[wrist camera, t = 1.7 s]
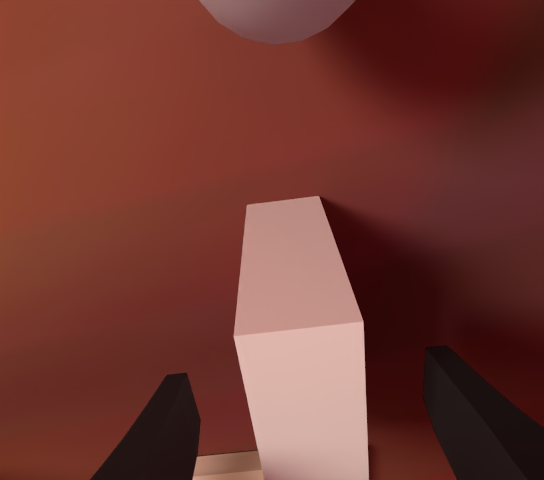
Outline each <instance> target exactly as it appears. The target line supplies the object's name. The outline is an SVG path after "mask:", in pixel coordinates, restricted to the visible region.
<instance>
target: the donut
mask: <svg viewBox="0 0 544 480" xmlns="http://www.w3.org/2000/svg"><path fill="white" fill-rule="evenodd" d="M199 1H200V2H201V3H202V4H203V5H204V7H205V8H206V9H207V10H208V11H209V12H210V14H211V15H212V16H213V17H214V18H215V19H216V21H217V22H218V23H220V24H221V25H223V26H225V27H226V28H228V29H230V30H231V31H233V32H234V33H236V34H238V35H239V36H241V37H242V38H244V39H248V40H253V41H257V42H262V43H266V44H271V45H276V44H284V43H291V42H299V41H303V40H305V39H307V38H309V37H311V36H313V35H315V34H317V33H319V32H321V31H323V30H325V29H327V28H328V27H329V26H330V25H331V24H332V23H333V22H334V21H336V20H337V19H338V18H339V17H340V16H341V15H342V14H343V13H344V12H345V11H346V10H347V9H348V8H349V7H350V6H351V5H352V4H353V3H354V2H355V1H356V0H199Z"/></svg>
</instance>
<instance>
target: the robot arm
mask: <svg viewBox="0 0 544 480" xmlns="http://www.w3.org/2000/svg"><path fill="white" fill-rule="evenodd" d="M423 399H424V402H425V405H426V408H427V411H428V414H429V417H430V420H431V423H432V426H433V429H434V431H435V434H436V436H437V438H438V440H439V442H440V445H441V447H442V449H443V451H444V453H445V455H446V457H447V459H448V462H449V464H450V466H451V468H452V470H453V472H454V474H455V476H456V478H457V480H544V428H543V427H542V426H540V425H539V424H538V423H536V422H535V421H534V420H532V419H531V418H530V417H529V416H527V415H526V414H525V413H523V412H522V411H521V410H520V409H518V408H517V407H516V406H515V405H513V404H512V403H511V402H510V401H509V400H507V399H506V398H505V397H504V396H503V395H502V394H500V393H499V392H498V391H497V390H496V389H494V388H493V387H492V386H491V385H490V384H489V383H488V382H486V381H485V380H484V379H483V378H482V377H481V376H480V375H479V374H477V373H476V372H475V371H474V370H473V369H472V368H471V367H470V366H469V365H468V364H466V363H465V362H464V361H463V360H462V359H461V358H460V357H459V356H458V355H457V354H456V353H455V352H453V351H452V350H451V349H450V348H449V347H448V346H446V345H445V346H435V347H426V348H425V366H424V386H423ZM199 433H200V416H199V413H198V409H197V406H196V403H195V399H194V396H193V392H192V389H191V385H190V382H189V379H188V375H187V373H180V374H171V375H167V376H166V377H165V378H164V380H163V381H162V383H161V384H160V386H159V387H158V389H157V390H156V392H155V393H154V395H153V396H152V398H151V399H150V401H149V402H148V404H147V405H146V407H145V408H144V409H143V411H142V412H141V414H140V415H139V417H138V418H137V420H136V421H135V422H134V424H133V425H132V426H131V428H130V429H129V431H128V432H127V433H126V435H125V436H124V438H123V439H122V440H121V442H120V443H119V444H118V445H117V447H116V448H115V449H114V451H113V452H112V453H111V454H110V456H109V457H108V458H107V459H106V461H105V462H104V463H103V465H102V466H101V467H100V468H99V469H98V471H97V472H96V473H95V474H94V475H93V477H92V478H91V479H90V480H193V475H194V470H195V465H196V460H197V454H198V444H199Z"/></svg>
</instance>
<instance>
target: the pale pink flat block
mask: <svg viewBox="0 0 544 480" xmlns="http://www.w3.org/2000/svg"><path fill="white" fill-rule="evenodd" d="M234 340H235V344H236V349H237V354H238V358H239V363H240V368H241V372H242V377H243V382H244V386H245V391H246V396H247V401H248V405H249V410H250V415H251V419H252V424H253V429H254V433H255V438H256V443H257V448H258V452H259V457H260V462H261V466H262V471H263V476H264V480H369V466H368V438H367V409H366V380H365V351H364V322H363V319H362V316H361V313H360V310H359V308H358V305H357V302H356V299H355V296H354V293H353V291H352V288H351V285H350V282H349V279H348V276H347V274H346V271H345V268H344V265H343V262H342V259H341V257H340V254H339V251H338V248H337V245H336V242H335V240H334V237H333V234H332V231H331V228H330V226H329V223H328V220H327V217H326V214H325V211H324V209H323V206H322V203H321V200H320V197H319V196H315V197H307V198H299V199H291V200H283V201H275V202H267V203H259V204H251V205H247V210H246V220H245V230H244V240H243V250H242V260H241V270H240V280H239V290H238V299H237V309H236V319H235V329H234Z"/></svg>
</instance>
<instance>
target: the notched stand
mask: <svg viewBox="0 0 544 480" xmlns="http://www.w3.org/2000/svg"><path fill="white" fill-rule="evenodd" d="M193 480H264V476H263V471H262V466H261V462H260V457H259V452H258V451H249V452H239V453H229V454H219V455H209V456H199V457H197V460H196V465H195V470H194V475H193Z"/></svg>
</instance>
